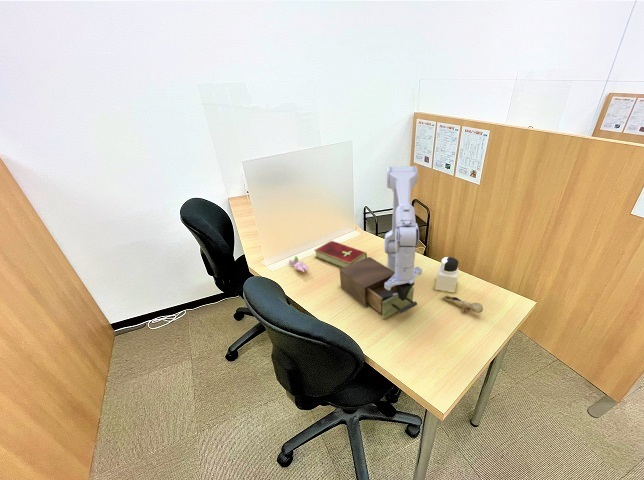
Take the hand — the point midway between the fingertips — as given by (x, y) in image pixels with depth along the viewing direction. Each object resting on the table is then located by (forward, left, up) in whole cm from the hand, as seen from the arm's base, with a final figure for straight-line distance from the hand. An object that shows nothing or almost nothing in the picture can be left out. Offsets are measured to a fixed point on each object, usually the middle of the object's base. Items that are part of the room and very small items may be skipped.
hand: (402, 298), depth 96 cm
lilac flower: (+14, -49, -7) cm, 52 cm away
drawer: (0, -6, -6) cm, 9 cm away
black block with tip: (0, -6, -5) cm, 8 cm away
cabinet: (0, -19, -7) cm, 20 cm away
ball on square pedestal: (-25, -1, -7) cm, 26 cm away
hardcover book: (-5, -45, -7) cm, 46 cm away
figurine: (-19, +11, -7) cm, 23 cm away
